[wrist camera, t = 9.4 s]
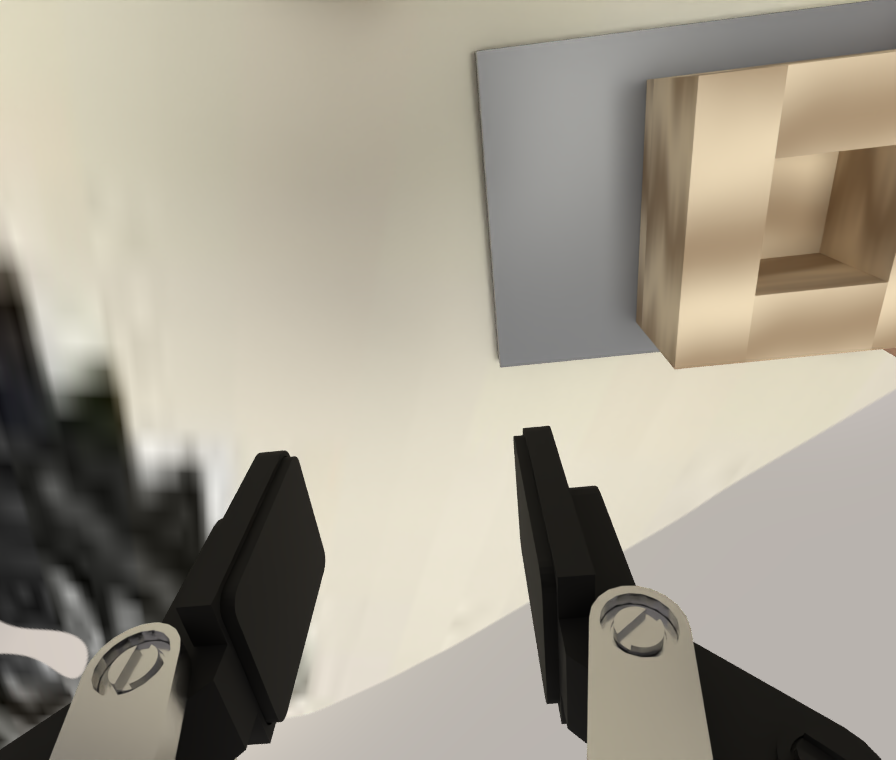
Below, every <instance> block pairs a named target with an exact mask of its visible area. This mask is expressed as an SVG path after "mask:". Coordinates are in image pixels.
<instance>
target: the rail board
mask: <svg viewBox="0 0 896 760" xmlns="http://www.w3.org/2000/svg"><path fill="white" fill-rule="evenodd" d="M891 49H896V0H872V1H865V2H857V3H849V4H841V5H833V6H825V7H818V8H810V9H802V10H794V11H786V12H779V13H771V14H763V15H755V16H747V17H739V18H732V19H724V20H716V21H708V22H700V23H692V24H685V25H677V26H669V27H661V28H653V29H645V30H638V31H630V32H622V33H614V34H606V35H598V36H591V37H583V38H575V39H567V40H559V41H551V42H544V43H536V44H528V45H520V46H512V47H505V48H497V49H489V50H481V51H476V52H475V56H476V69H477V82H478V95H479V108H480V122H481V135H482V148H483V161H484V174H485V187H486V200H487V213H488V226H489V239H490V252H491V265H492V278H493V292H494V305H495V318H496V331H497V344H498V357H499V363H500V367H510V366H520V365H530V364H540V363H550V362H560V361H570V360H581V359H591V358H601V357H611V356H621V355H631V354H641V353H651V352H660V351H659V349H658V348H657V347H656V346H655V345H654V343H653V342H652V341H651V340H650V338H649V337H648V336H647V335H646V334H645V332H644V331H643V330H642V329H641V328H640V326H639V325H638V324H637V323H636V311H637V289H638V267H639V245H640V223H641V201H642V178H643V156H644V134H645V112H646V90H647V80H648V79H656V78H664V77H672V76H680V75H689V74H697V73H705V72H713V71H721V70H729V69H737V68H745V67H753V66H762V65H770V64H778V63H786V62H794V61H802V60H810V59H818V58H826V57H835V56H843V55H851V54H859V53H867V52H875V51H883V50H891ZM883 350H885V351H887V352H889V353H890V354H892V355H894V356H895V357H896V348H887V349H883Z"/></svg>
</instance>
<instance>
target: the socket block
mask: <svg viewBox="0 0 896 760" xmlns="http://www.w3.org/2000/svg"><path fill="white" fill-rule="evenodd" d="M636 323H637V324H638V325H639V326H640V328H641V329H642V330H643V331H644V332H645V334H646V335H647V336H648V337H649V338H650V340H651V341H652V342H653V343H654V345H655V346H656V347H657V348H658V349H659V351H660V352H661V353H662V354H663V356H664V357H665V358H666V359H667V360H668V362H669V363H670V364H671V365H672V366H673V368H674V369H682V368H692V367H702V366H713V365H723V364H733V363H743V362H754V361H764V360H774V359H785V358H795V357H805V356H815V355H826V354H836V353H846V352H857V351H867V350H877V349H887V348H896V49H891V50H883V51H875V52H867V53H859V54H851V55H843V56H835V57H826V58H818V59H810V60H802V61H794V62H786V63H778V64H770V65H762V66H753V67H745V68H737V69H729V70H721V71H713V72H705V73H697V74H689V75H680V76H672V77H664V78H656V79H648V80H647V90H646V112H645V134H644V156H643V178H642V201H641V223H640V245H639V267H638V289H637V311H636Z"/></svg>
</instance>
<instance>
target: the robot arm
mask: <svg viewBox="0 0 896 760" xmlns="http://www.w3.org/2000/svg"><path fill="white" fill-rule="evenodd" d="M514 455H515V469H516V484H517V499H518V513H519V528H520V541H521V549H522V556H523V562H524V568H525V575H526V581H527V587H528V593H529V600H530V606H531V611H532V618H533V624H534V631H535V637H536V643H537V649H538V656H539V662H540V668H541V674H542V681H543V686H544V693H545V699H546V703H547V704H553V703H558V706H559V712H560V717H561V722H562V724H567V728H568V729H569V730H570V731H571V732H573V733H574V734H575V735H577V736H578V737H579V738H581V739H582V740H583V741H585V743H587V760H881V758H879V756H878V755H877V754H876V753H875V752H874V751H873V750H872V749H871V748H870V747H869V746H868V745H867V744H866V743H865V742H864V741H863V740H861V739H860V738H859V737H857V736H856V735H854V734H853V733H851V732H850V731H848V730H847V729H846V728H844V727H842V726H841V725H839V724H837V723H835V722H834V721H832V720H830V719H828V718H827V717H824V716H823V715H821V714H820V713H818V712H816V711H814V710H813V709H811V708H809V707H807V706H805V705H804V704H802V703H800V702H798V701H797V700H795V699H793V698H791V697H790V696H788V695H786V694H784V693H782V692H781V691H779V690H777V689H775V688H774V687H772V686H770V685H768V684H767V683H765V682H763V681H761V680H760V679H758V678H756V677H754V676H753V675H751V674H749V673H747V672H746V671H744V670H742V669H740V668H739V667H736V666H735V665H733V664H731V663H730V662H728V661H726V660H724V659H723V658H721V657H719V656H717V655H716V654H714V653H712V652H710V651H709V650H707V649H705V648H703V647H702V646H700V645H698V644H696V643H694V642H693V638H692V632H691V628H690V625H689V622H688V620H687V617H686V615H685V614H684V613H683V611H682V610H681V609H680V608H679V606H678V605H677V604H676V603H674V602H673V601H672V600H671V599H669V598H668V597H666V596H665V595H663V594H661V593H659V592H657V591H654V590H652V589H649V588H644V587H640V586H636V585H635V583H634V580H633V577H632V575H631V572H630V569H629V567H628V564H627V562H626V559H625V556H624V554H623V551H622V548H621V546H620V543H619V540H618V538H617V535H616V533H615V530H614V527H613V525H612V522H611V519H610V517H609V514H608V512H607V509H606V506H605V504H604V501H603V498H602V496H601V493H600V491H599V489H598V487H597V486H586V487H575V488H569V486H568V483H567V480H566V477H565V473H564V470H563V467H562V464H561V460H560V457H559V454H558V451H557V447H556V444H555V441H554V437H553V434H552V431H551V428H550V426H542V427H531V428H523V435H521V436H514ZM324 568H325V552H324V548H323V545H322V541H321V538H320V534H319V530H318V527H317V523H316V520H315V516H314V513H313V509H312V506H311V502H310V498H309V495H308V491H307V488H306V484H305V481H304V477H303V474H302V470H301V466H300V463H299V460H298V458H297V457H295V456H294V457H290V455H289V453H288V452H287V451H274V452H263V453H258V454H257V456H256V457H255V459H254V461H253V463H252V465H251V466H250V468H249V470H248V472H247V474H246V476H245V478H244V480H243V481H242V483H241V485H240V487H239V489H238V491H237V493H236V495H235V497H234V498H233V500H232V502H231V504H230V506H229V508H228V510H227V512H226V513H225V515H224V517H223V518H222V519H220V520H219V521H218V522H217V523H216V524H215V526H214V527H213V529H212V531H211V533H210V535H209V536H208V538H207V540H206V542H205V544H204V546H203V547H202V549H201V551H200V553H199V555H198V557H197V559H196V560H195V562H194V564H193V566H192V568H191V570H190V571H189V573H188V575H187V577H186V579H185V581H184V582H183V584H182V586H181V588H180V590H179V592H178V594H177V595H176V597H175V599H174V601H173V603H172V605H171V606H170V608H169V610H168V612H167V614H166V616H165V618H164V619H163V621H162V623H158V622H156V623H149V624H143V625H140V626H137V627H134V628H132V629H129V630H127V631H125V632H124V633H122V634H120V635H118V636H117V637H115V638H113V639H112V640H111V641H110V642H109V643H107V644H106V645H105V646H104V647H102V648H101V649H100V650H99V651H98V653H97V654H96V655H95V656H94V657H93V658H92V659H91V661H90V662H89V664H88V666H87V667H86V669H85V671H84V673H83V675H82V677H81V680H80V682H79V685H78V687H77V690H76V692H75V695H74V698H73V700H72V702H71V703H70V704H68V705H67V706H65V707H64V708H62V709H61V710H59V711H58V712H56V713H55V714H53V715H52V716H50V717H49V718H47V719H46V720H44V721H43V722H41V723H40V724H38V725H37V726H35V727H34V728H32V729H31V730H29V731H28V732H26V733H25V734H23V735H22V736H20V737H19V738H17V739H16V740H14V741H13V742H11V743H10V744H8V745H7V746H5V747H4V748H2V749H1V750H0V760H237V757H238V756H239V755H240V754H241V753H242V752H244V751H245V750H246V748H247V745H252V744H267V743H270V742H271V739H272V735H273V731H274V728H275V724H276V722H282V721H283V720H284V719H285V717H286V714H287V711H288V707H289V703H290V699H291V695H292V691H293V688H294V684H295V680H296V676H297V672H298V668H299V665H300V661H301V657H302V653H303V649H304V645H305V642H306V638H307V634H308V630H309V626H310V622H311V619H312V615H313V611H314V607H315V603H316V599H317V596H318V592H319V588H320V584H321V580H322V576H323V573H324Z"/></svg>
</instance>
